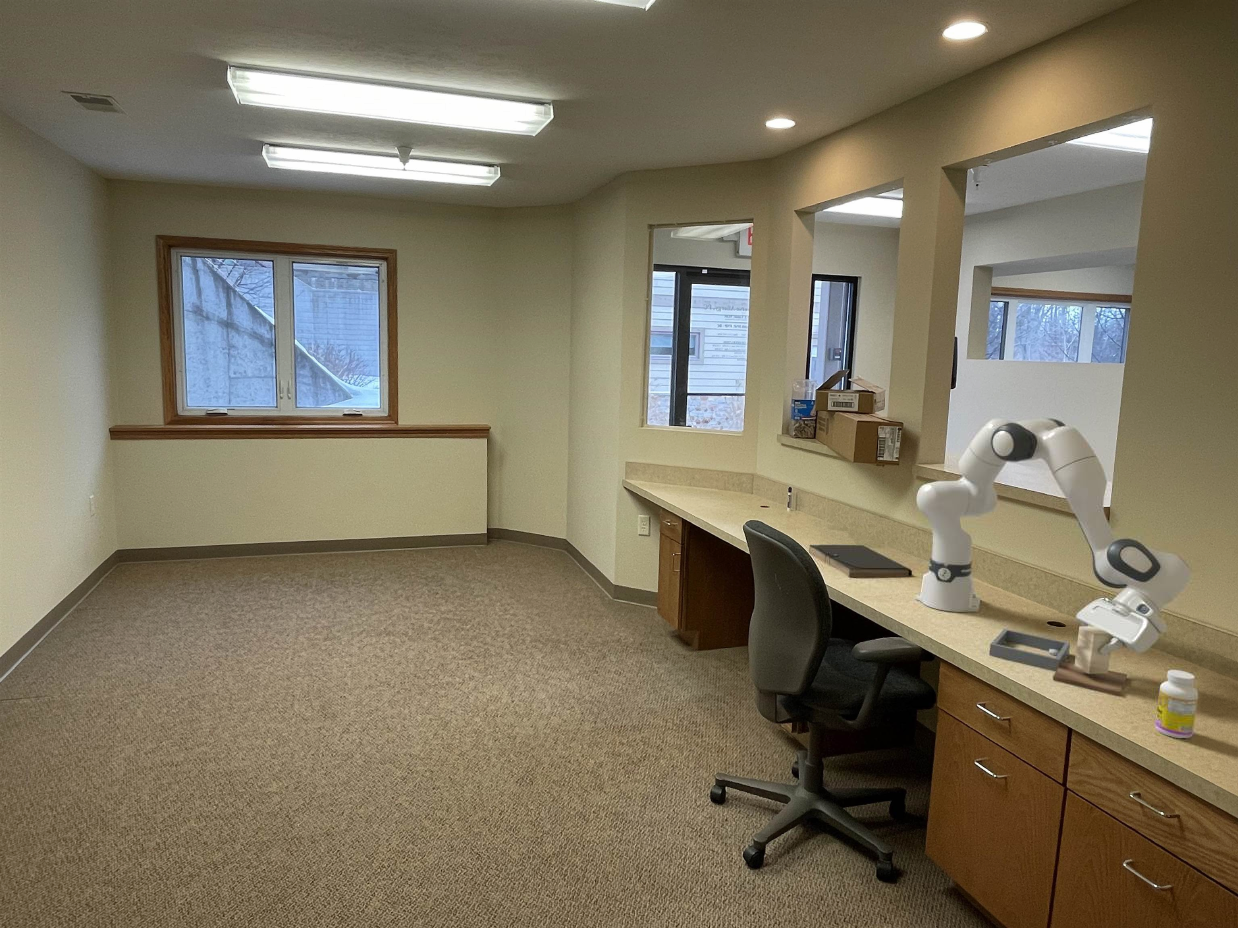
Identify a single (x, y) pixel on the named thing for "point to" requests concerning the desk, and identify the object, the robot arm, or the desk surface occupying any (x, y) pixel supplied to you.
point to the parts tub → (1043, 661)
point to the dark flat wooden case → (858, 561)
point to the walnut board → (1090, 678)
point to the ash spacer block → (1092, 650)
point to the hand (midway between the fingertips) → (1091, 648)
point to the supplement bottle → (1177, 705)
